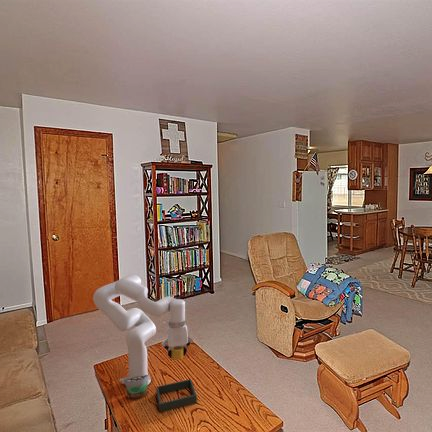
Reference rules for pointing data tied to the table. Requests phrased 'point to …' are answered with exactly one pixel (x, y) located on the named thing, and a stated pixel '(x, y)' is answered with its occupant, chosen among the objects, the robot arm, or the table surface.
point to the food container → (136, 387)
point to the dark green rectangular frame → (177, 402)
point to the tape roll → (177, 352)
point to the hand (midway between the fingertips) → (177, 355)
